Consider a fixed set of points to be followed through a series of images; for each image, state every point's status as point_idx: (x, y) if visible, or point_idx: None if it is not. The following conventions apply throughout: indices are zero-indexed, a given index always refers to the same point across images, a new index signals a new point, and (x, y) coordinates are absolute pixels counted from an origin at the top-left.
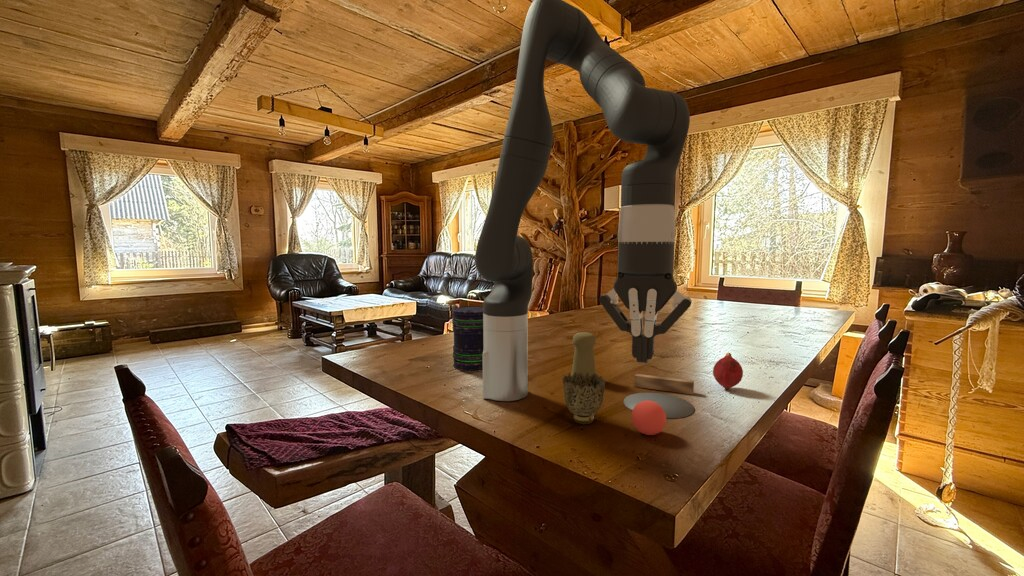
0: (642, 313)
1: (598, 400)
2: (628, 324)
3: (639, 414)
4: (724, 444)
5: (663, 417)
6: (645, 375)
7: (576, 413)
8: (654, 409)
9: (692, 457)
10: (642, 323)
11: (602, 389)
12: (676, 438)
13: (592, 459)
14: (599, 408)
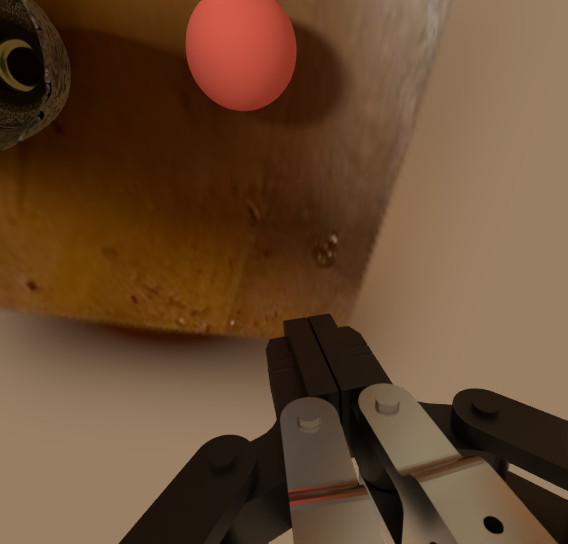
0: (370, 504)
1: (64, 92)
2: (270, 535)
3: (225, 102)
4: (428, 23)
5: (293, 70)
6: None
7: (14, 122)
8: (270, 79)
9: (357, 147)
10: (347, 449)
11: (56, 69)
12: (313, 49)
13: (170, 271)
14: (70, 70)
